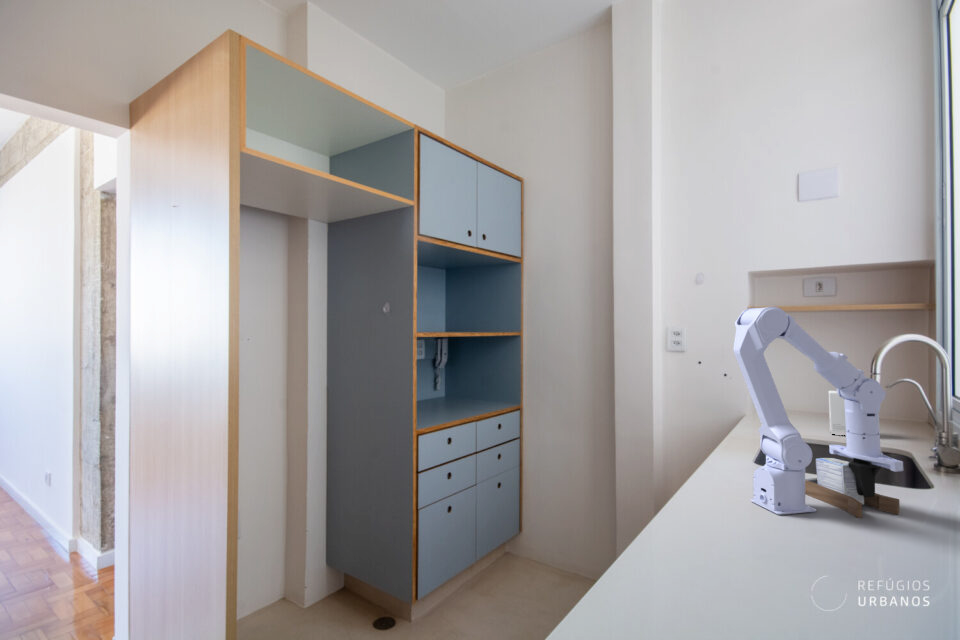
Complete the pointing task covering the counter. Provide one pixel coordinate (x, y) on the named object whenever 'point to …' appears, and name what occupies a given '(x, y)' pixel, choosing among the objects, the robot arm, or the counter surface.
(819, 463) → the medicine box
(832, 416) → the skincare box
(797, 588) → the counter surface
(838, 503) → the guide channel
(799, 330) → the robot arm
